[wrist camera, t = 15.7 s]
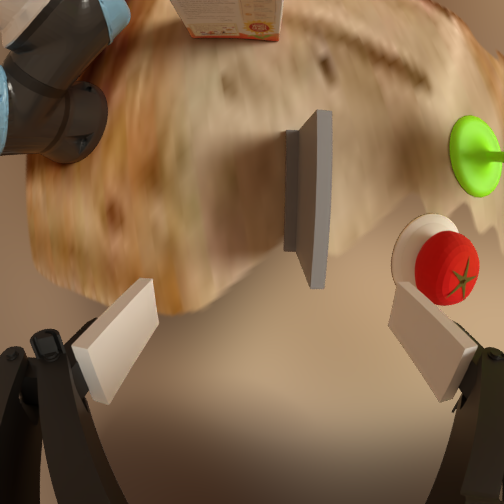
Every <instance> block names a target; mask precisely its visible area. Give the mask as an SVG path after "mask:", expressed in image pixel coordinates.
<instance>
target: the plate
mask: <svg viewBox="0 0 504 504" xmlns="http://www.w3.org/2000/svg"><path fill="white" fill-rule="evenodd" d="M448 230H450V231H454V232H457V233H459V232H458V230H457V228H456V226H455V225H454V224H453V222H451V220H449V219H448V218H447V217H445V216H442V215H440V214H435V213H428V214H424V215H421V216H419V217H417V218H415V219H414V220H413V221H411V222H410V223H409V224H408V225H407V226H406V227H405V228H404V229H403V231H402V232H401V233H400V235H399V237H398V239H397V241H396V244H395V246H394V249H393V253H392V259H391V272H392V277H393V280H394V283H395V285H396V286H397V282H410V283H411V284H412V285H413V286H414V287H416V288H417V286H416V283H415V262H416V258H417V255H418V253H419V251H420V249H421V247H422V246H423V245H424V243H425V242H426V241H427V240H428V239H429V238H430V237H432V236H433V235H435V234H436V233H438V232H441V231H448Z"/></svg>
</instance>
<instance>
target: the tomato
mask: <svg viewBox="0 0 504 504" xmlns="http://www.w3.org/2000/svg"><path fill="white" fill-rule="evenodd" d="M478 273H479V258H478V255H477V252H476V250H475V248H474V246H473V244H472V243H471V241H470V240H469V239H467V238H466V237H465V236H463V235H462V234H460V233H457V232H454V231H450V230H448V231H441V232H438V233H436V234H435V235H433V236H432V237H430V238H429V239H428V240H427V241H426V242H425V243H424V245H423V246H422V247H421V249H420V251H419V253H418V255H417V258H416V262H415V283H416V286H417V289H418V290H419V291H420V292H421V293H422V294H424V295H425V296H426V297H427V298H428V299H429V300H430V301H431V302H433V303H434V304H436V305H443V306H446V305H452V304H456V303H459V302H461V301H463V300H464V299H465V298H466V297H467V296H468V295H469V294H470V292H471V291H472V289H473V287H474V285H475V283H476V280H477V277H478Z"/></svg>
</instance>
